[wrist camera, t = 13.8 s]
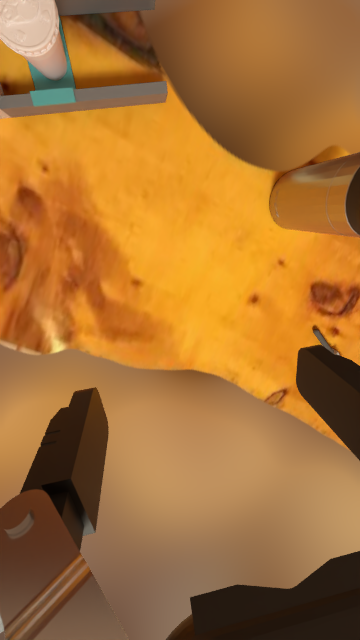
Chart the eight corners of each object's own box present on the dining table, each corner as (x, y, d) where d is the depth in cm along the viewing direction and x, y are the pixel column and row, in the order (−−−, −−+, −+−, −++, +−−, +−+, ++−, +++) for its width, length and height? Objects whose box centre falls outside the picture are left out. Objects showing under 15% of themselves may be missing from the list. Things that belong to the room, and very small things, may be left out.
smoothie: (89, 70, 33) (58, -20, 20) (53, 106, 34) (2, 42, 21) (48, 11, 30) (-16, -134, 18) (11, 52, 31) (-77, -58, 18)
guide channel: (152, -6, 31) (155, -52, 26) (165, 103, 35) (170, 83, 30) (-43, 6, 29) (-85, -42, 24) (-5, 119, 33) (-32, 102, 28)
